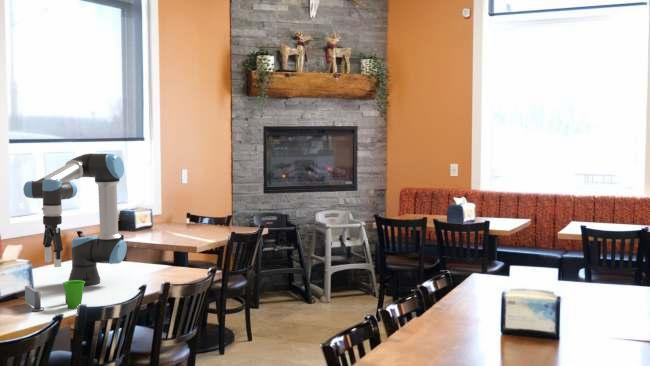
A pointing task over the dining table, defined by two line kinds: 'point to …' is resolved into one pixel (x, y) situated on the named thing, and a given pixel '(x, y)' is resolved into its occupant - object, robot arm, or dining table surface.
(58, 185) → the robot arm
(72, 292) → the cup
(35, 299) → the gate
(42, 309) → the hinge base
